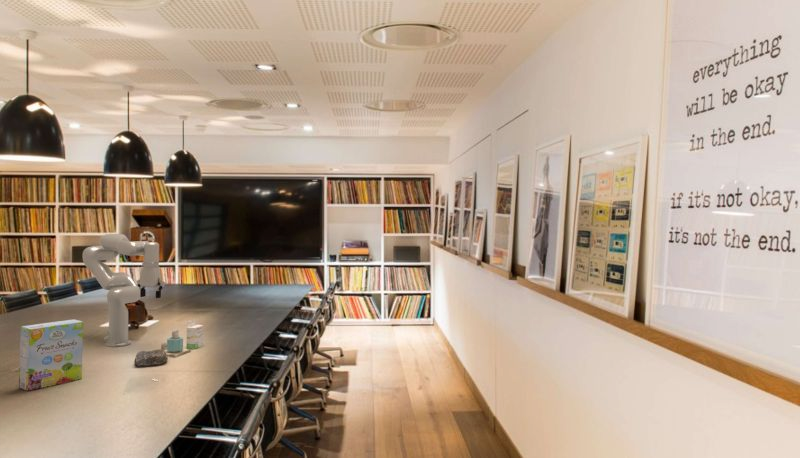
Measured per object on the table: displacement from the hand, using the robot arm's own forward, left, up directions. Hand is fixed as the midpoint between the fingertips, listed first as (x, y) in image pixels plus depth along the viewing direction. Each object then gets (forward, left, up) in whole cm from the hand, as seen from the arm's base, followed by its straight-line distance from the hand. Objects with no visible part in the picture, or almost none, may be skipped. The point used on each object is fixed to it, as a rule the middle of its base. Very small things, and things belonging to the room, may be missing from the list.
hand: (150, 297), depth 286 cm
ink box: (+19, +12, -28) cm, 36 cm away
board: (+15, -3, -28) cm, 32 cm away
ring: (+18, -3, -26) cm, 32 cm away
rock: (+19, -22, -29) cm, 41 cm away
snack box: (+2, -61, -28) cm, 67 cm away
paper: (+39, -48, -29) cm, 68 cm away
